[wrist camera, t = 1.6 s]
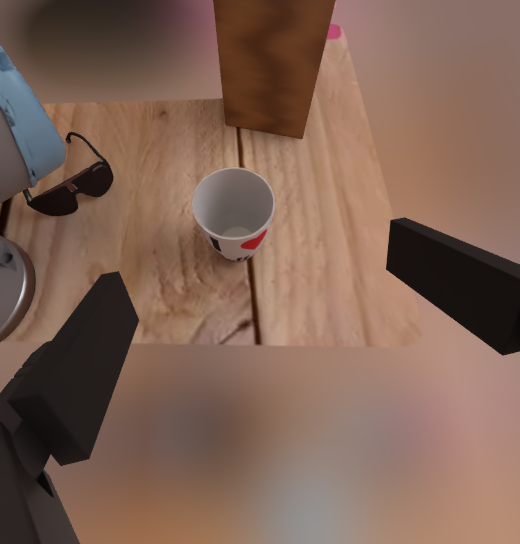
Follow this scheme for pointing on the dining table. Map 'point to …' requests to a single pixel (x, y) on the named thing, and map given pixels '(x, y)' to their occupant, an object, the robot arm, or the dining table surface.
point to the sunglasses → (87, 182)
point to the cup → (234, 211)
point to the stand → (270, 61)
